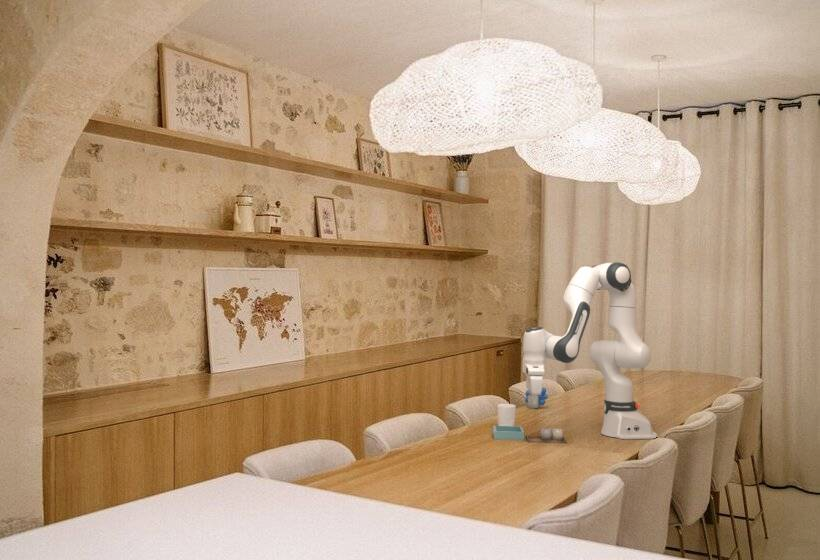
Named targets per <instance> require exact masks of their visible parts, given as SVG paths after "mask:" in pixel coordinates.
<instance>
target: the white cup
mask: <svg viewBox="0 0 820 560" xmlns="http://www.w3.org/2000/svg"><path fill="white" fill-rule="evenodd" d="M516 407H517V405H516V404H513V403H500V404H497V406H496V408H497V410H496V411H497V426H515V422H516V413H517V412H516V409H517V408H516Z"/></svg>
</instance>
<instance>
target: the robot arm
mask: <svg viewBox="0 0 820 560" xmlns="http://www.w3.org/2000/svg"><path fill="white" fill-rule="evenodd" d="M597 290H598V291H600V290H603V291H608V295H609V303H608V316H607V324H608V326H609V328H610V330H613V331H614V332H615V333H617V335H618V336H619V340H612V339H602V340H595V341H594V342H592V344H591V345H590V347H589V351H588V352H589V353H588V354H589V357H590V360H591V361H592V363H593V364H594V365H596V367H597V368H598V369H599V370H600V372H601V374H602V376H603V377H602V378H603V380H604V388H605V389H604V390H605V392H604V393H605V394H604V397H605V399H604V400H603V413H604V414H603V415H604V416H603V422H602V428H601V431H600V434H602V435H603V436H606V437H612V438H617V439H621V440H637V439H639V440H642V439H644V440H645V439H647V440H649V439H650V440H652V439H653V440H654V438H655V439H657V438H658V434H657V432H655V431H653V429H652V424H651V421H650V420H649V419H648V418H647V417H646V416H645V415H644V414H642V413H641V412H640V411H639V410H638V409H640V408H641V407H642V405H641V404H640V403H637V402H636V401H634V400H633V399H634V398H633V396H634V384H633V382H632V380H631V379H630V378H629V377H628V376H626V375H624V374H623V372H622V370H621V368H625V369H642V368H643V369H644V368H646V367H647V366H648V365H650V362H651V360H652V351H651V349H650V347H649V346H648V345H647V344H646V343H645V342H644V341H643V339H642V338H641V337H640V335H639V333H638V332H639V331H638V330H637V291H636V287H635V285H634V284H633V283H632V273H631V270H630V268H629V266H628V265H627V264H625V263H622V262H618V261H617V262H616V261H615V262H605V263H601V264H595V265H593V266H587V265H586V266H581V267H579V269H578V270H577V271H576V272H575V273H574V275H573V276H572V277H571V280H570V281H569V283H568V284H567V287H566V288H565V291H564V293H563V297H562V301H563V304H564V306H565V307H566V309H567V310H569V311H570V312H571V313H572V315H571V319H570V323H569V326H568V329H567V331H566V333H565V334H564V335H562V336H561V335H555V334H553V333H550V332H549V331H547V330H546V329H545V328H544V327H543V326H533V327H529V328H527V329H526V330H525V331H524V332H523V333H524V334H523V339H522V351H523V357H522V372H523V373H524V374H525V377H526V381H525V382H526V383H525V385H526V388H527V391H528V390H529V393H530V395H532V404H537V395H541V392H542V388H543V382H544V376H545V374H546V359H549V360H553V361H558V362H561V363H564V364H570V363H572V362H574V361H575V360H576V359H577V357H578V355H579V352H580V346H581V341H582V338H583V335H584V332H585V330H586V326H587V324H588V320H589V318H590V315H591V307H590V306H591V302H592V300H593V298H594V296H595V293H596V291H597ZM656 437H657V438H656Z"/></svg>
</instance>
